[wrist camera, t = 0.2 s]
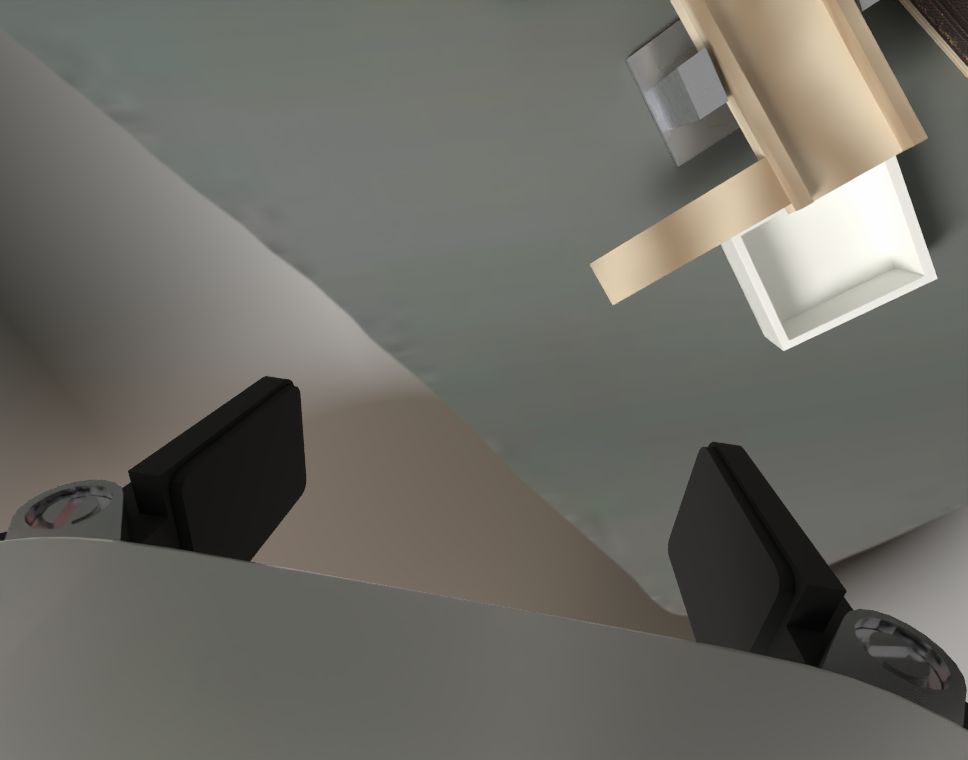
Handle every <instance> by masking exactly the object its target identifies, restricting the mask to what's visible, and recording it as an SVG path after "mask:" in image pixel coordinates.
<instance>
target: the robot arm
mask: <svg viewBox="0 0 968 760" xmlns="http://www.w3.org/2000/svg"><path fill="white" fill-rule="evenodd" d="M128 473H129V476H130V480H131V482H130V483H129V484H128V485H126V486H125V487H123V488H121V487H120V486H119V485H117V484H116V483H114V482H110V481H106V480H87V481H79V482H74V483H70V484H66V485H62V486H59V487H57V488H54V489H51V490H49V491H46V492H44V493H42V494H40V495H38V496H36V497H34V498H33V499H31V500H29V501H28V502H27V503H25V504H24V505H23V506H22V507H21V508H19V509H18V510H17V512H16V513H15V515H14V516H13V518H12V520H11V523H10V526H9V528H8V531H7V532H4V533H0V760H968V703H967V702H966V691H967V689H966V684H965V679H964V677H963V675H962V673H961V672H960V670H959V668H958V667H957V665H956V663H955V662H954V661H953V660H952V659H951V658H950V657H949V656H948V655H947V654H946V652H944V650H943V649H942V648H940V647H939V646H938V645H937V644H936V643H934V642H933V641H932V640H931V639H929V638H928V637H927V636H926V635H924V634H922V633H921V632H919V631H918V630H916V629H915V628H913V627H912V626H910V625H908V624H907V623H904V622H902V621H900V620H898V619H896V618H894V617H892V616H890V615H887V614H883V613H880V612H877V611H874V610H865V609H857V610H853V609H852V608H851V606H850V605H849V603H848V602H847V601H846V599H845V598H844V595H845V593H846V590H845V588H844V587H843V585H842V584H841V583H840V581H839V580H838V578H837V577H836V576H835V574H834V573H833V572H832V570H831V569H830V567H829V566H828V565H827V563H826V562H825V560H824V559H823V558H822V556H821V555H820V554H819V552H818V551H817V549H816V548H815V547H814V545H813V544H812V543H811V541H810V540H809V538H808V537H807V536H806V534H805V533H804V531H803V530H802V529H801V527H800V526H799V525H798V523H797V522H796V520H795V519H794V518H793V516H792V515H791V514H790V512H789V511H788V509H787V508H786V507H785V505H784V504H783V502H782V501H781V500H780V498H779V497H778V496H777V494H776V493H775V491H774V490H773V489H772V487H771V486H770V485H769V483H768V482H767V480H766V479H765V478H764V476H763V475H762V473H761V472H760V471H759V469H758V468H757V467H756V465H755V464H754V462H753V461H752V460H751V458H750V457H749V456H748V454H747V453H746V451H745V450H744V449H743V448H742V447H741V446H738V445H731V444H725V443H718V442H712V443H710V445H709V446H708V447H702V448H701V449H700V450H699V453H698V455H697V458H696V461H695V464H694V467H693V470H692V473H691V476H690V479H689V482H688V485H687V488H686V491H685V494H684V497H683V500H682V503H681V506H680V509H679V512H678V515H677V517H676V520H675V523H674V526H673V529H672V532H671V535H670V538H669V543H668V554H669V558H670V561H671V564H672V567H673V570H674V573H675V577H676V580H677V583H678V586H679V589H680V592H681V595H682V598H683V602H684V605H685V608H686V611H687V614H688V617H689V620H690V623H691V627H692V630H693V633H694V636H695V639H696V642H694V641H688V640H683V639H677V638H672V637H667V636H661V635H656V634H650V633H645V632H639V631H634V630H628V629H623V628H618V627H613V626H607V625H601V624H597V623H590V622H585V621H580V620H575V619H569V618H564V617H558V616H552V615H546V614H541V613H536V612H530V611H524V610H519V609H513V608H508V607H502V606H496V605H490V604H485V603H480V602H474V601H469V600H463V599H457V598H452V597H446V596H440V595H435V594H429V593H424V592H418V591H413V590H406V589H401V588H396V587H390V586H385V585H379V584H373V583H368V582H362V581H357V580H352V579H346V578H340V577H335V576H329V575H324V574H318V573H313V572H307V571H301V570H296V569H290V568H284V567H278V566H272V565H266V564H261V563H255V562H250V561H251V559H252V558H253V557H254V556H255V554H256V553H257V552H258V550H259V549H260V548H261V546H262V545H263V544H264V543H265V542H266V540H267V539H268V538H269V536H270V535H271V534H272V533H273V531H274V530H275V529H276V527H277V526H278V525H279V524H280V522H281V521H282V520H283V518H284V517H285V516H286V515H287V513H288V512H289V511H290V510H291V508H292V507H293V506H294V504H295V503H296V502H297V500H298V499H299V498H300V497H301V495H302V494H303V492H304V490H305V486H306V468H305V453H304V440H303V425H302V411H301V398H300V390H299V388H298V387H295V386H294V385H293V382H292V381H291V380H289V379H281V378H275V377H268V376H265V377H263V378H261V379H260V380H258V381H257V382H256V383H254V384H253V385H251V386H250V387H248V388H247V389H245V390H244V391H243V392H241V393H240V394H238V395H237V396H235V397H234V398H232V399H231V400H230V401H228V402H227V403H225V404H224V405H222V406H221V407H220V408H218V409H217V410H215V411H214V412H212V413H211V414H210V415H208V416H207V417H205V418H204V419H202V420H201V421H199V422H198V423H197V424H195V425H194V426H192V427H191V428H189V429H188V430H186V431H185V432H184V433H182V434H181V435H179V436H178V437H176V438H175V439H173V440H172V441H171V442H169V443H168V444H166V445H165V446H164V447H162V448H160V449H159V450H158V451H156V452H155V453H153V454H152V455H150V456H149V457H148V458H146V459H145V460H143V461H142V462H140V463H139V464H137V465H136V466H135V467H133V468H132V469H130V470H129V471H128Z"/></svg>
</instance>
